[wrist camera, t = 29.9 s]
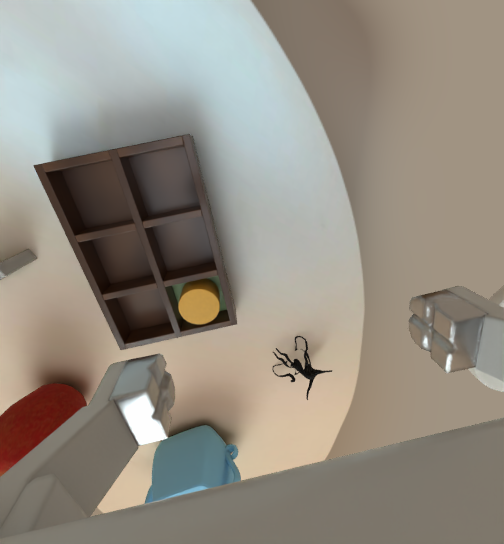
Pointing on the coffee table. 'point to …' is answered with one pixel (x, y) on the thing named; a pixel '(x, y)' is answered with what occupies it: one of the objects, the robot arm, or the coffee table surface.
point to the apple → (35, 420)
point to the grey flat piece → (16, 263)
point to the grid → (141, 235)
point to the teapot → (192, 464)
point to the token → (199, 301)
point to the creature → (300, 367)
